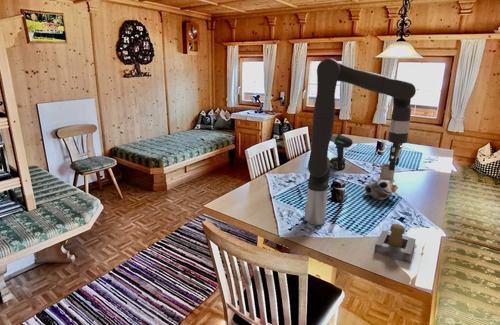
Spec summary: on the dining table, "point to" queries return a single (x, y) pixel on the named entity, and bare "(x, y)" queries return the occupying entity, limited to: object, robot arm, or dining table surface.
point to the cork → (396, 235)
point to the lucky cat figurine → (380, 189)
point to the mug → (385, 172)
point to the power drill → (339, 150)
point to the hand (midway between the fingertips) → (393, 167)
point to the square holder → (393, 251)
